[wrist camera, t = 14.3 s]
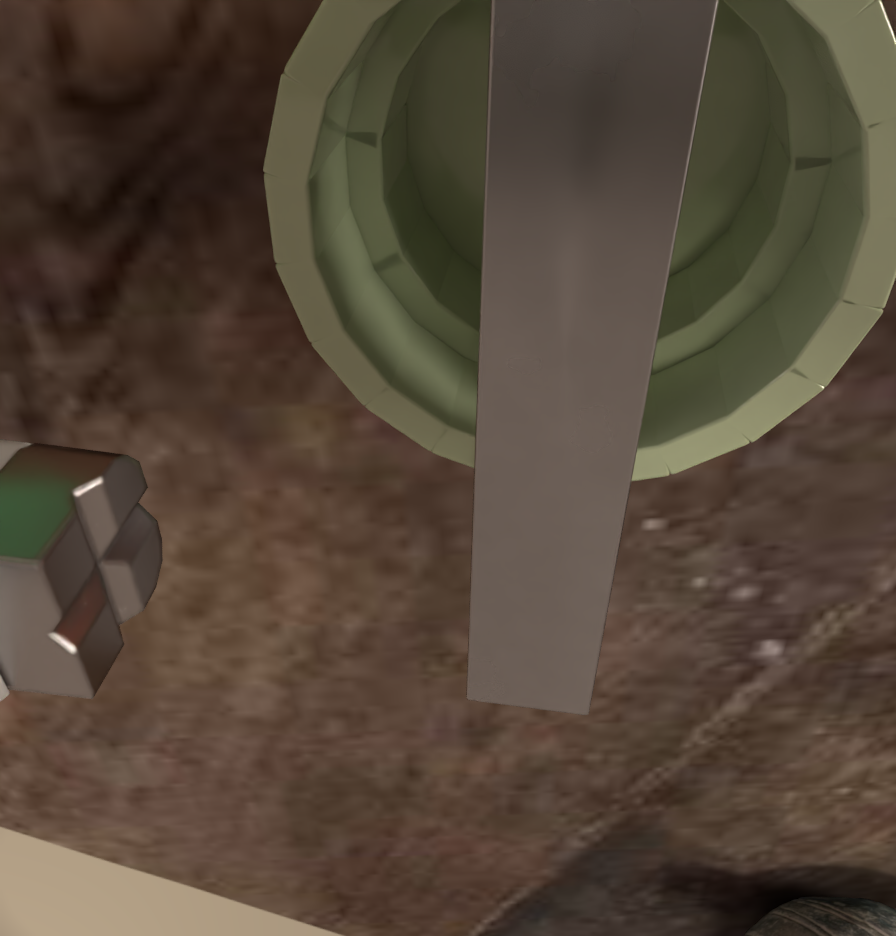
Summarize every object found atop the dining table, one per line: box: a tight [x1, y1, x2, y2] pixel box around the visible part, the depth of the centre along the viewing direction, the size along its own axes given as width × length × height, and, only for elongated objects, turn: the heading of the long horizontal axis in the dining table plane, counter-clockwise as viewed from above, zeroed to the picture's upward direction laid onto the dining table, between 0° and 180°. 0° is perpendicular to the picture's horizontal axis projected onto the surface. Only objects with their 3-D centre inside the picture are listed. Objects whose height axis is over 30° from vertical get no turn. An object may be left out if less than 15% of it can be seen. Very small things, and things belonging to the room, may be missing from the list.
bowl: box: [263, 0, 896, 481], centre depth 17 cm, size 11×11×6 cm
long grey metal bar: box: [466, 0, 719, 715], centre depth 13 cm, size 16×2×4 cm, turn 0°
